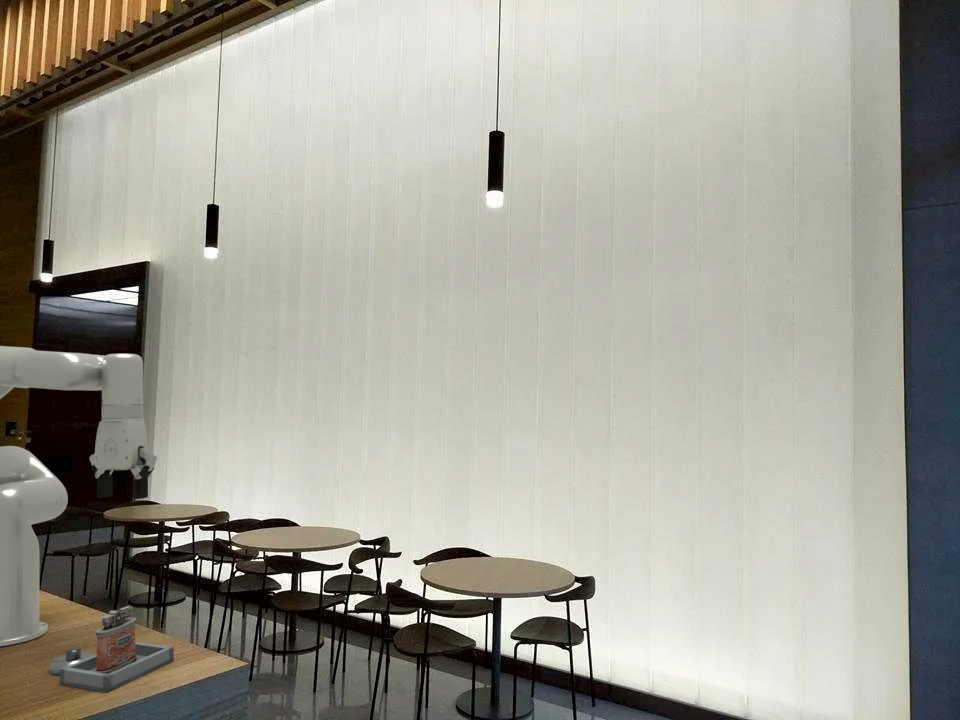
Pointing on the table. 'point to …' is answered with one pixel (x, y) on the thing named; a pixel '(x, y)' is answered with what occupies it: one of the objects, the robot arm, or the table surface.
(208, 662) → the table surface
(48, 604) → the table surface
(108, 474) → the robot arm
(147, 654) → the tray
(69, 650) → the pot lid
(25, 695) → the table surface
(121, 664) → the lighter
